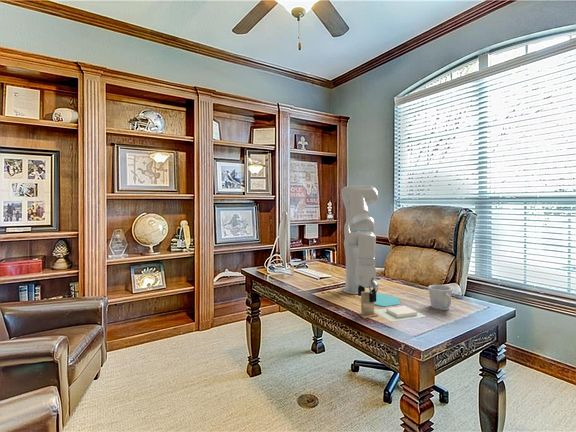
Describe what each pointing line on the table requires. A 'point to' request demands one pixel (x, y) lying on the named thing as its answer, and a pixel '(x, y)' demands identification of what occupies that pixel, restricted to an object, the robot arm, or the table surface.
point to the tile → (401, 311)
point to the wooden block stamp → (366, 306)
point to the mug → (440, 296)
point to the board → (394, 318)
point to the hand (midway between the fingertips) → (366, 298)
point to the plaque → (386, 300)
